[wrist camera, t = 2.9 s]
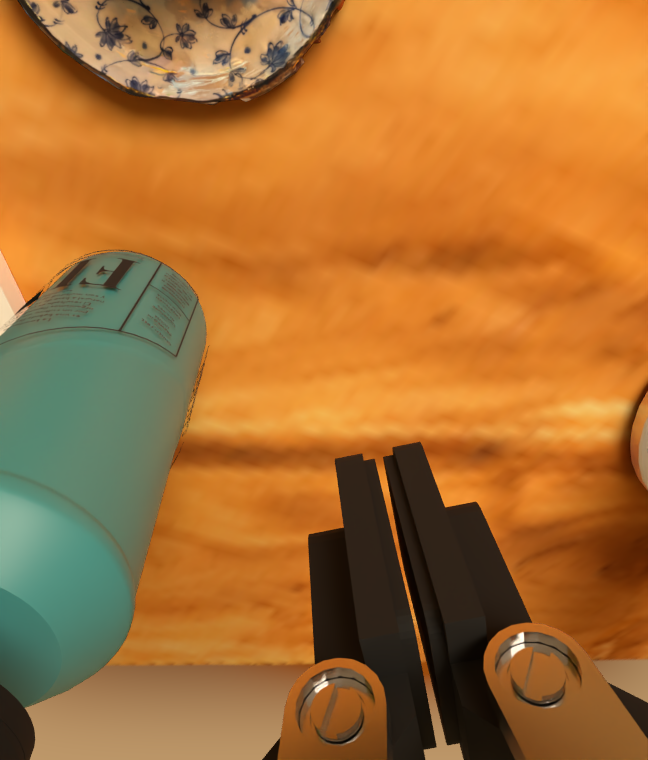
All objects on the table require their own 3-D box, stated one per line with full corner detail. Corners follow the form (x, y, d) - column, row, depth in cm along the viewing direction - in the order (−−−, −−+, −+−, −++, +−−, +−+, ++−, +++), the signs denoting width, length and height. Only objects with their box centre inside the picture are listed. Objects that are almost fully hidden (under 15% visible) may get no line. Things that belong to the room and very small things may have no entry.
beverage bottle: (167, 208, 23) (-206, 662, 5) (242, 346, 26) (158, 922, 9) (27, 273, 24) (-680, 842, 6) (116, 399, 27) (-196, 1019, 9)
